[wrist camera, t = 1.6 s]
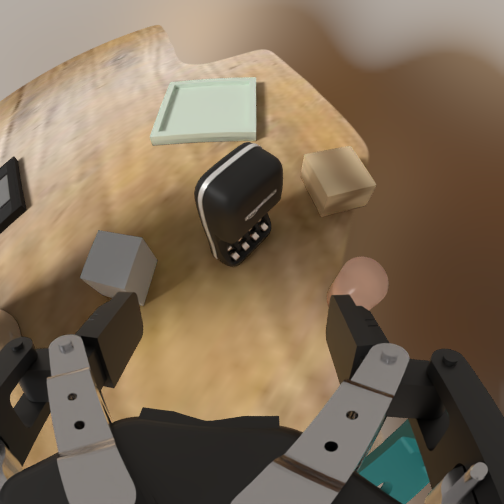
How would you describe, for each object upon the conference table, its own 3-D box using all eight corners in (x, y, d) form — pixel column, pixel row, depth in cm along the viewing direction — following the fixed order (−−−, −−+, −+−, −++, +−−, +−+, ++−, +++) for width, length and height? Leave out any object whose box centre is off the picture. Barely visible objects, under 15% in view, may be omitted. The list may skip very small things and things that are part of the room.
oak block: (320, 218, 32) (327, 196, 29) (300, 177, 35) (304, 154, 31) (366, 205, 33) (376, 184, 29) (343, 168, 36) (350, 145, 32)
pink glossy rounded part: (328, 321, 27) (342, 307, 23) (325, 277, 29) (337, 256, 25) (371, 319, 27) (391, 304, 23) (366, 277, 29) (384, 256, 25)
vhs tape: (-4, 241, 32) (-12, 235, 31) (-10, 188, 37) (-15, 181, 36) (28, 212, 34) (21, 204, 33) (19, 162, 39) (14, 156, 38)
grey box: (103, 295, 29) (79, 277, 24) (117, 253, 31) (98, 230, 26) (143, 306, 28) (124, 289, 24) (157, 260, 30) (142, 237, 26)
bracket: (437, 387, 24) (485, 379, 17) (464, 428, 21) (512, 428, 14) (295, 505, 20) (308, 540, 12) (332, 543, 17) (354, 580, 10)
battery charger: (236, 278, 29) (226, 213, 19) (208, 255, 30) (186, 184, 20) (282, 231, 31) (293, 154, 21) (254, 211, 33) (253, 131, 22)
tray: (152, 145, 38) (149, 137, 36) (171, 89, 44) (170, 82, 42) (256, 140, 37) (256, 131, 36) (256, 85, 44) (255, 77, 42)
